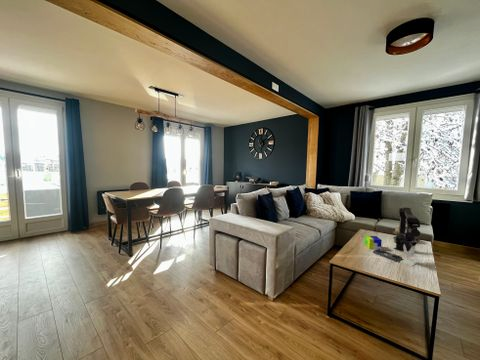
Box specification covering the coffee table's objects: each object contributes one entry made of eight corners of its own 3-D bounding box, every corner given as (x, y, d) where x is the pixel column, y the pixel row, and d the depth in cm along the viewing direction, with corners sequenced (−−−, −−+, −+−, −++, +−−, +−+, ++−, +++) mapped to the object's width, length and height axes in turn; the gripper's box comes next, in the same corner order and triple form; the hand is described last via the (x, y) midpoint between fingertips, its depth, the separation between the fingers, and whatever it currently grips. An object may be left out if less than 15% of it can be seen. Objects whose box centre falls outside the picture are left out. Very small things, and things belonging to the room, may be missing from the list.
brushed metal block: (406, 252, 165) (407, 243, 164) (414, 255, 160) (415, 245, 160) (403, 253, 162) (404, 244, 162) (411, 256, 158) (412, 246, 157)
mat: (404, 259, 167) (404, 258, 167) (416, 263, 160) (416, 263, 160) (399, 261, 164) (399, 260, 164) (411, 265, 157) (411, 265, 156)
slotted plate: (379, 250, 183) (379, 248, 183) (402, 259, 167) (402, 257, 167) (373, 252, 179) (373, 250, 178) (396, 261, 163) (396, 259, 162)
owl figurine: (391, 239, 212) (392, 223, 211) (393, 236, 220) (394, 221, 218) (413, 244, 199) (414, 228, 197) (414, 241, 206) (416, 225, 205)
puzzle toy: (380, 250, 184) (381, 240, 183) (369, 249, 186) (369, 239, 185) (375, 245, 194) (376, 236, 193) (364, 244, 196) (365, 235, 195)
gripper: (404, 227, 171) (403, 244, 172) (393, 230, 162) (392, 249, 164) (421, 231, 161) (419, 250, 163) (410, 235, 153) (408, 254, 154)
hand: (409, 250), depth 161 cm, fingers closed on brushed metal block, 5 cm apart
